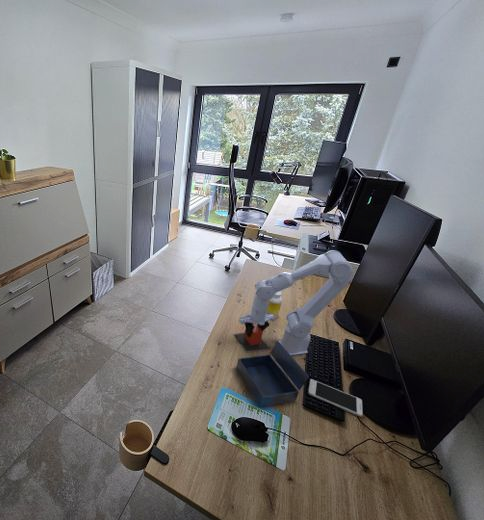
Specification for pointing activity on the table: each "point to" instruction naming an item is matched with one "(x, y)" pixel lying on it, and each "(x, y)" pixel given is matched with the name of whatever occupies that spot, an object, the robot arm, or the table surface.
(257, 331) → the block
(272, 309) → the supplement bottle
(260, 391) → the carton
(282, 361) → the flap
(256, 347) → the mat
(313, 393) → the smartphone
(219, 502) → the table surface
